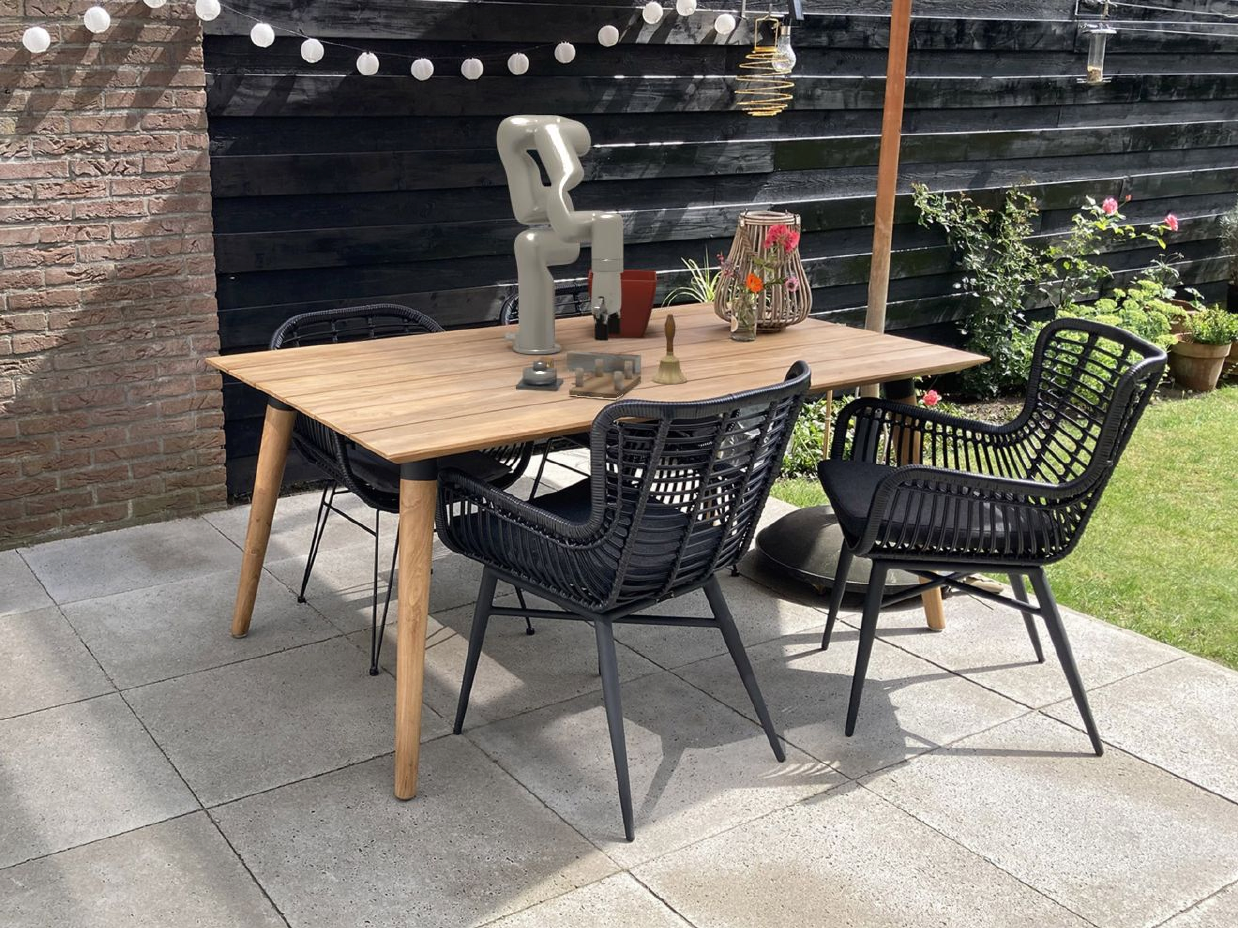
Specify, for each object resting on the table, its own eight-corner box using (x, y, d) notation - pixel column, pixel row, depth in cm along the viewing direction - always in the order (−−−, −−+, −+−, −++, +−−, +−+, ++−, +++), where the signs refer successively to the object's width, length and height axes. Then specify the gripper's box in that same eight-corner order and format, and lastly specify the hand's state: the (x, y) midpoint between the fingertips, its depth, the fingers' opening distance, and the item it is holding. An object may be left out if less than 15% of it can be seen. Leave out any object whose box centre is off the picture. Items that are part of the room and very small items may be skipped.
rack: (569, 396, 281) (569, 372, 279) (596, 378, 299) (596, 355, 297) (615, 400, 278) (616, 376, 276) (640, 381, 296) (641, 359, 294)
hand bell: (662, 385, 293) (664, 318, 288) (645, 378, 300) (647, 312, 295) (693, 382, 296) (695, 316, 292) (675, 375, 303) (677, 310, 299)
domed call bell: (553, 385, 286) (553, 366, 285) (519, 383, 287) (519, 365, 286) (563, 372, 299) (563, 354, 298) (531, 370, 300) (531, 353, 299)
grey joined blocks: (565, 371, 306) (565, 353, 304) (572, 367, 310) (572, 349, 309) (635, 377, 301) (635, 359, 300) (640, 373, 305) (641, 355, 304)
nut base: (577, 391, 285) (577, 388, 285) (515, 389, 287) (515, 385, 286) (583, 382, 294) (583, 379, 294) (523, 380, 296) (523, 376, 296)
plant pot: (655, 341, 345) (657, 280, 340) (586, 339, 345) (587, 278, 340) (654, 328, 363) (656, 270, 359) (589, 327, 364) (589, 269, 359)
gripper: (603, 262, 307) (603, 331, 311) (580, 269, 291) (581, 342, 295) (632, 262, 305) (632, 332, 309) (611, 270, 289) (611, 343, 293)
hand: (607, 337), depth 302 cm, fingers open, 9 cm apart
